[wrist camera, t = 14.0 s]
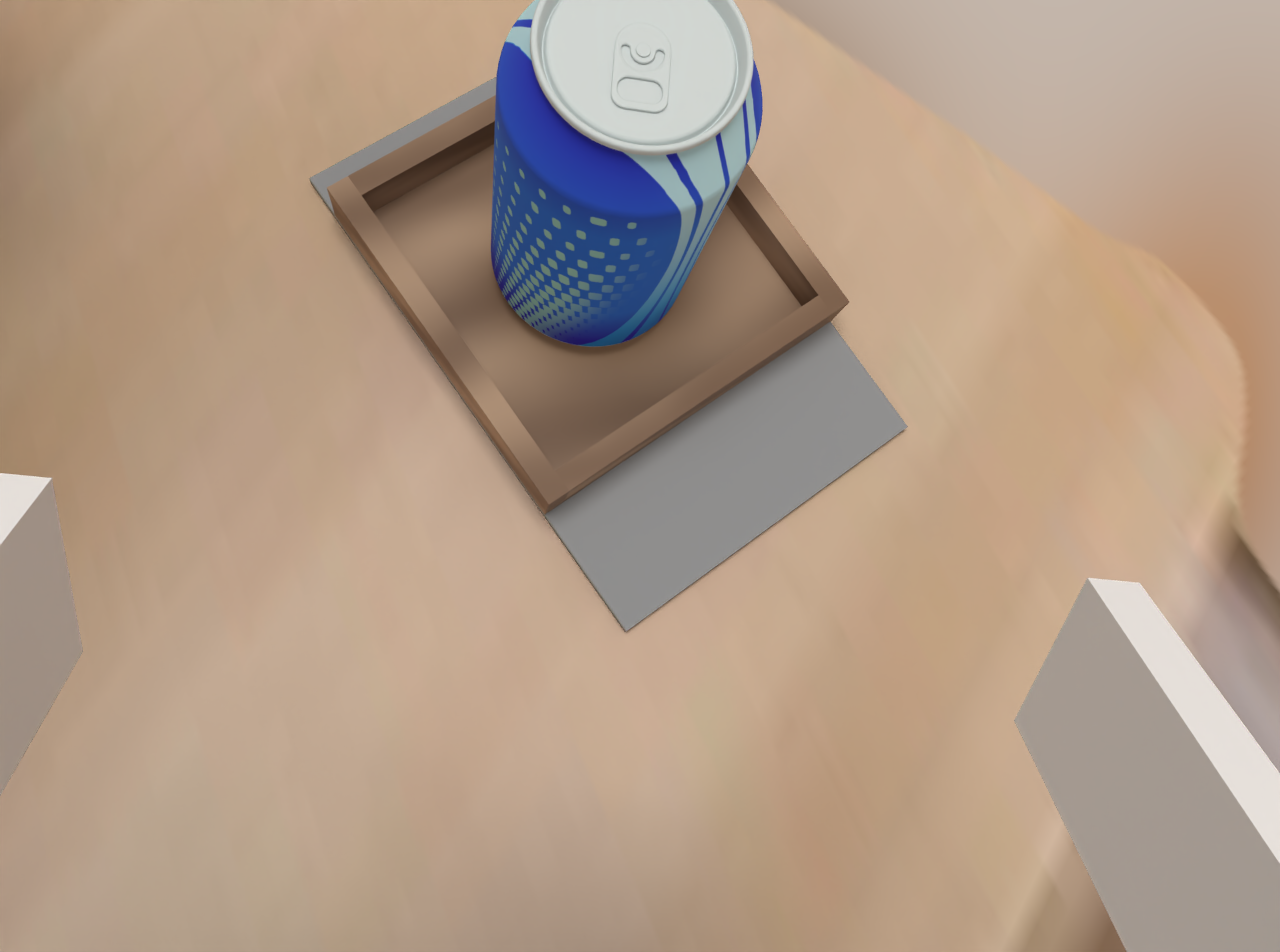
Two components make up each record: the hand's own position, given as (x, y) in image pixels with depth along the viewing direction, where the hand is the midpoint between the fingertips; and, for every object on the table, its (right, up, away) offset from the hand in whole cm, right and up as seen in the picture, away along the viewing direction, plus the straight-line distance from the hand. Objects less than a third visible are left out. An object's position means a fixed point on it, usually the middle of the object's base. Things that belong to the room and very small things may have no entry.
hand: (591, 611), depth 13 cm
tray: (-2, +11, +32) cm, 34 cm away
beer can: (-2, +11, +32) cm, 34 cm away
